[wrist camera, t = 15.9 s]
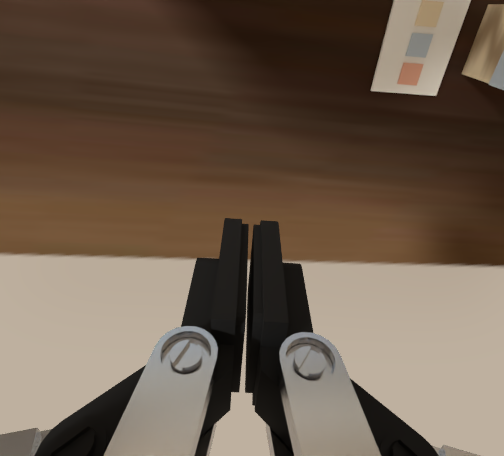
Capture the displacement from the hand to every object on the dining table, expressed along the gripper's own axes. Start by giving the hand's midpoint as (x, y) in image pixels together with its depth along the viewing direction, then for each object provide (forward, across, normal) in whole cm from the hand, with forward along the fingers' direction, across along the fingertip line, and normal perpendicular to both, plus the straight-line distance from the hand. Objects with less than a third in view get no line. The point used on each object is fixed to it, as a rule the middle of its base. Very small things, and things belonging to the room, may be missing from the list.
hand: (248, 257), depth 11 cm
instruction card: (+29, -16, -4) cm, 34 cm away
